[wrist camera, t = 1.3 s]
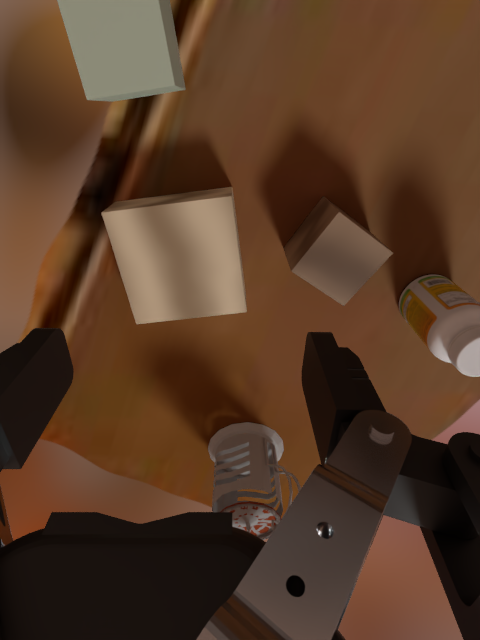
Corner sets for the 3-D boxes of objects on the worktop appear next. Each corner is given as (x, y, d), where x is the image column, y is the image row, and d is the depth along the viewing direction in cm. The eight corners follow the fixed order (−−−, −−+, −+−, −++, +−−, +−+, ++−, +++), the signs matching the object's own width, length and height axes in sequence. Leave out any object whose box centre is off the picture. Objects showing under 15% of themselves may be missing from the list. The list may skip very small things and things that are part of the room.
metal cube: (323, 195, 30) (339, 211, 26) (369, 231, 32) (393, 253, 27) (283, 247, 33) (291, 271, 28) (328, 278, 34) (343, 305, 29)
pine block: (232, 185, 30) (231, 196, 27) (245, 292, 35) (246, 312, 32) (116, 200, 31) (101, 212, 27) (146, 303, 36) (136, 324, 32)
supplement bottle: (416, 330, 37) (468, 395, 29) (386, 299, 35) (433, 358, 27) (464, 297, 35) (534, 355, 27) (434, 261, 33) (501, 312, 25)
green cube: (168, -9, 24) (151, -39, 19) (185, 89, 26) (174, 85, 22) (87, 6, 24) (51, -20, 19) (113, 101, 27) (87, 99, 22)
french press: (191, 448, 46) (153, 747, 24) (259, 402, 42) (285, 710, 21) (243, 483, 50) (249, 769, 28) (310, 443, 46) (376, 741, 24)
